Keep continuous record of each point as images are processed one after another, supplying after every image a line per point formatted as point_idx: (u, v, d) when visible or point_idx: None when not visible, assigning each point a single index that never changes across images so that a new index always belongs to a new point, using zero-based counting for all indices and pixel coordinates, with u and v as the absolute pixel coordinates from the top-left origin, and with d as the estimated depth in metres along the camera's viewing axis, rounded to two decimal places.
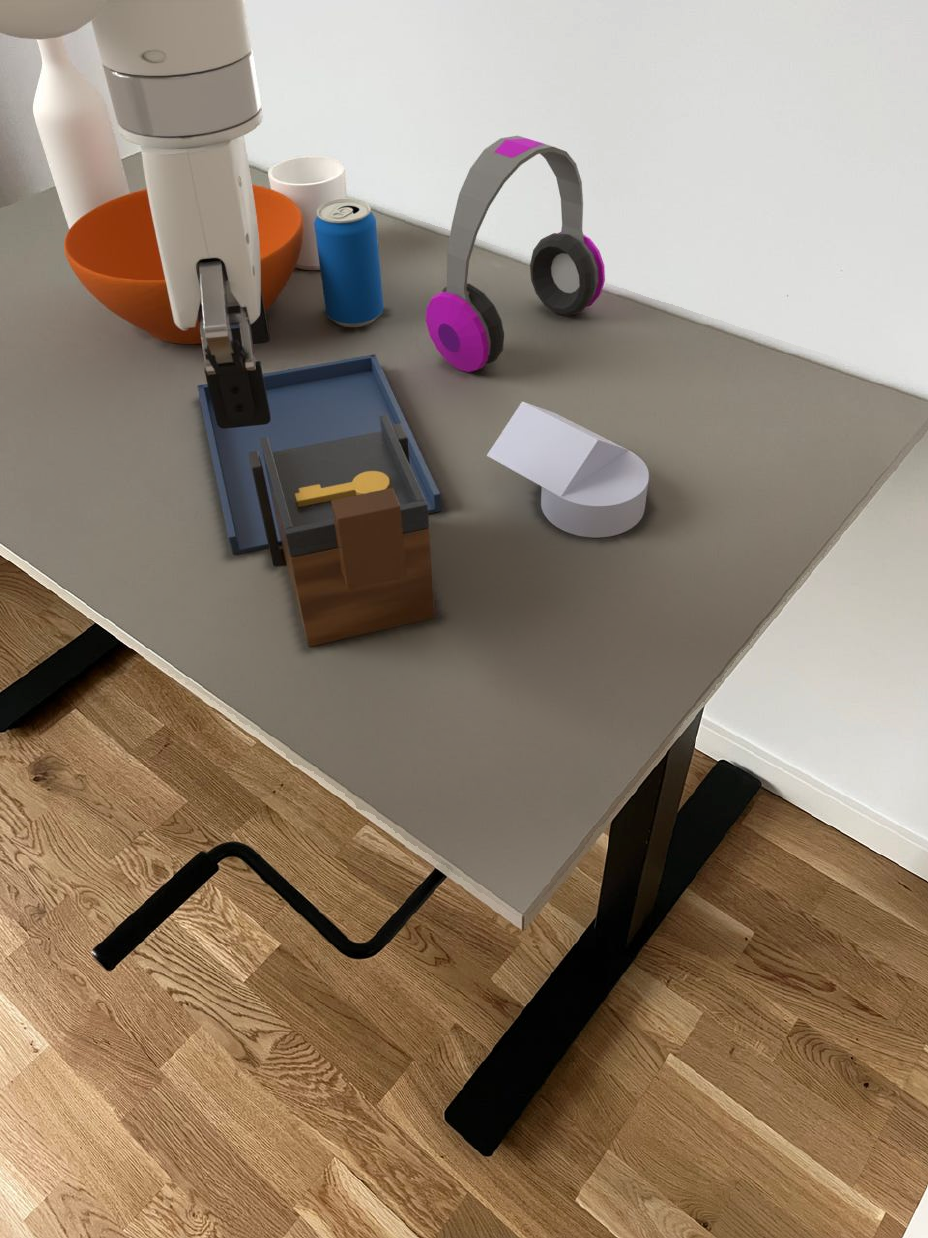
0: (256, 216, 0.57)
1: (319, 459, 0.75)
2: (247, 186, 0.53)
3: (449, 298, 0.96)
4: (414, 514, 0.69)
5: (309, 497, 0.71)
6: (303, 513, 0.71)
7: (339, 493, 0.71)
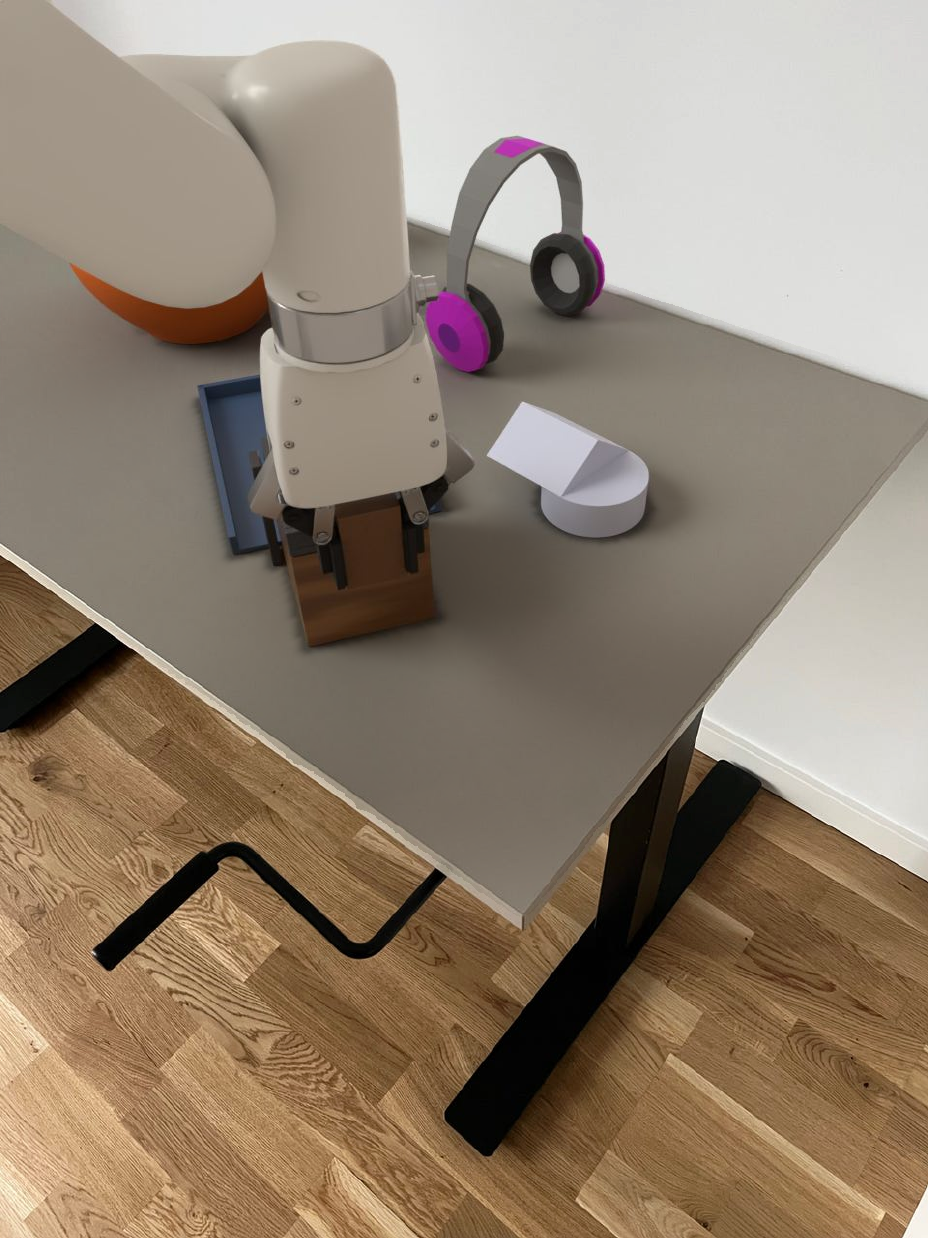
0: (383, 444, 0.56)
1: None
2: (327, 411, 0.53)
3: (449, 298, 0.96)
4: None
5: None
6: None
7: None
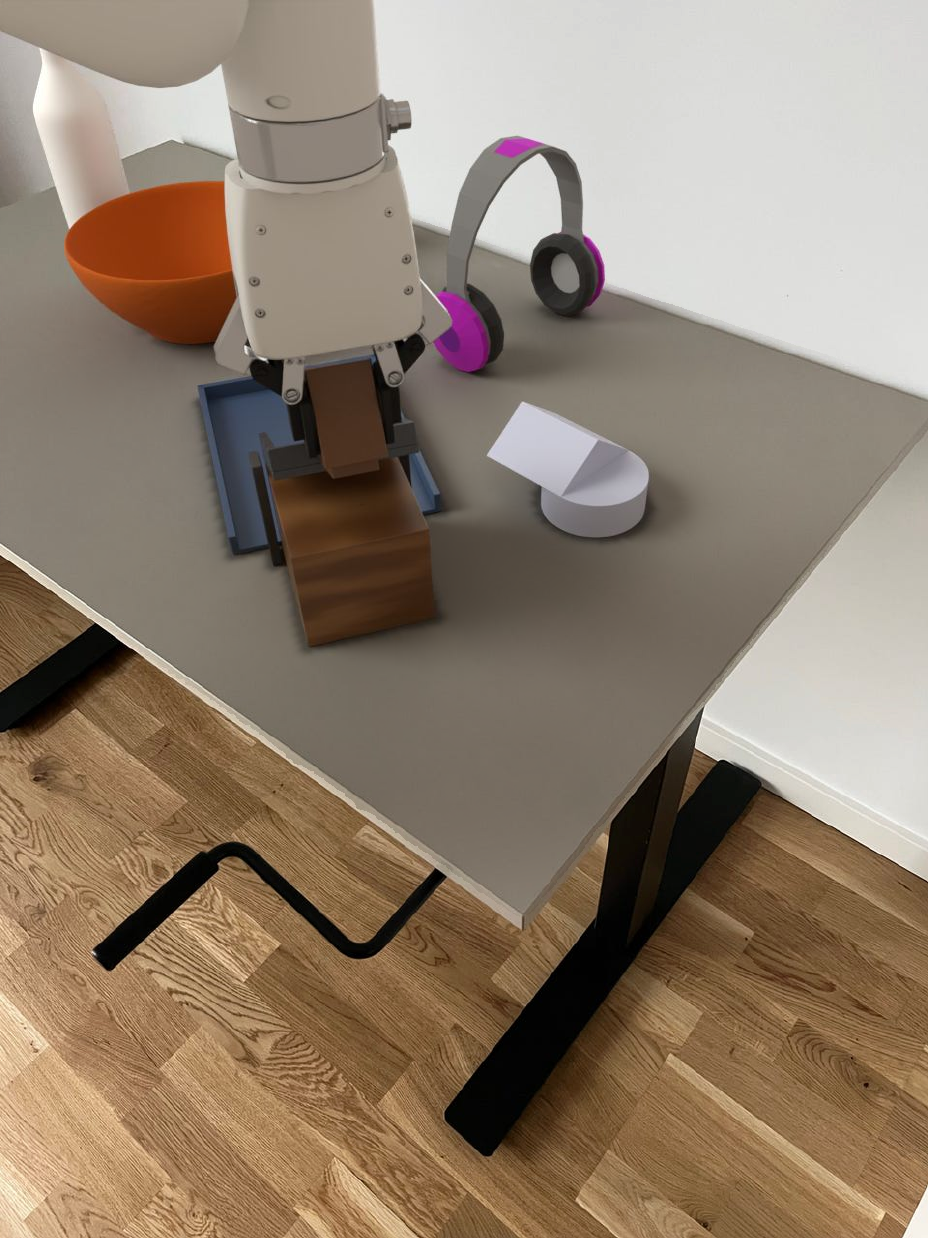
0: (353, 287, 0.53)
1: None
2: (294, 243, 0.51)
3: (449, 298, 0.96)
4: (401, 433, 0.66)
5: None
6: None
7: None
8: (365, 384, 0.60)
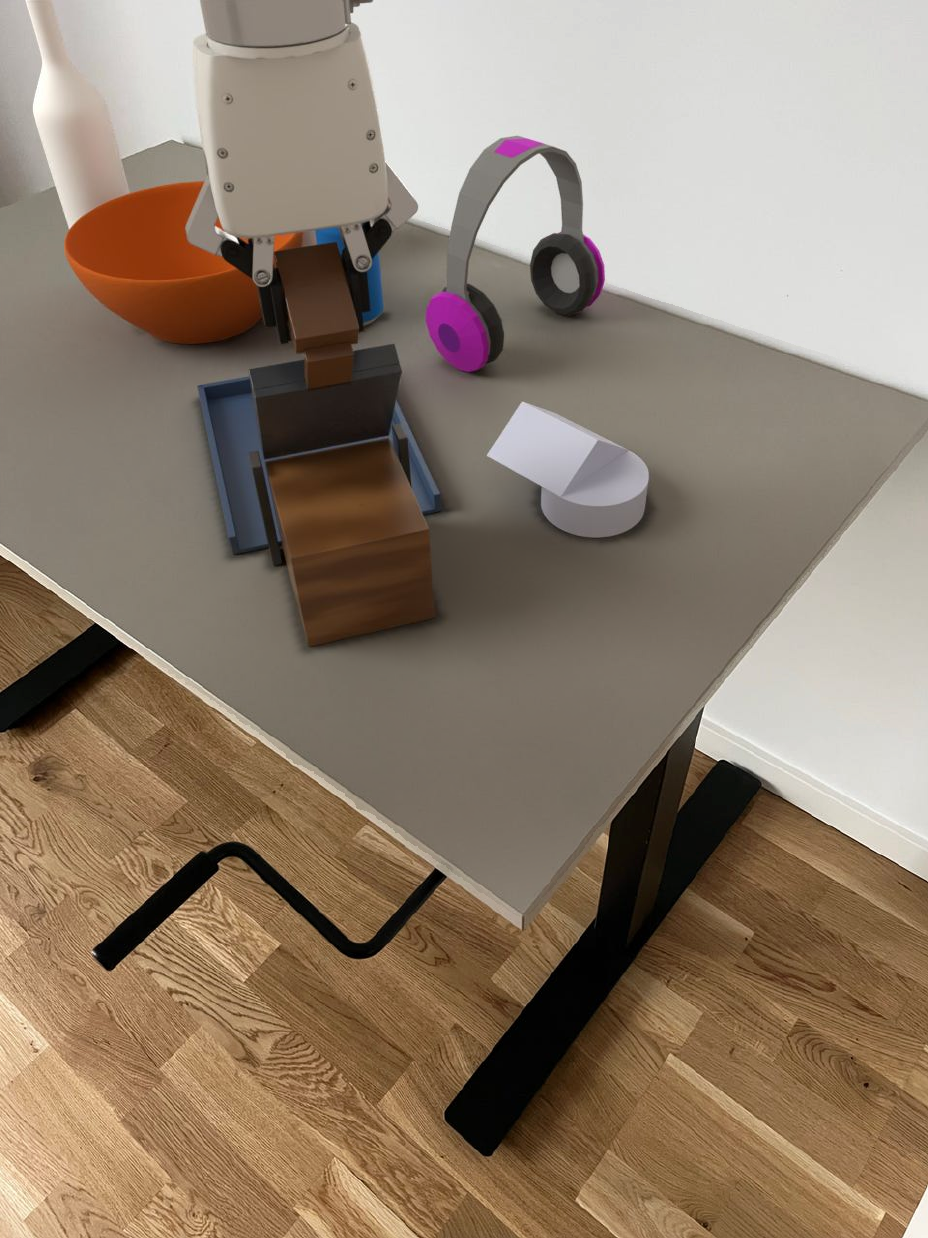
0: (319, 161, 0.55)
1: None
2: (260, 114, 0.52)
3: (449, 298, 0.96)
4: (382, 353, 0.67)
5: None
6: None
7: None
8: (332, 263, 0.61)
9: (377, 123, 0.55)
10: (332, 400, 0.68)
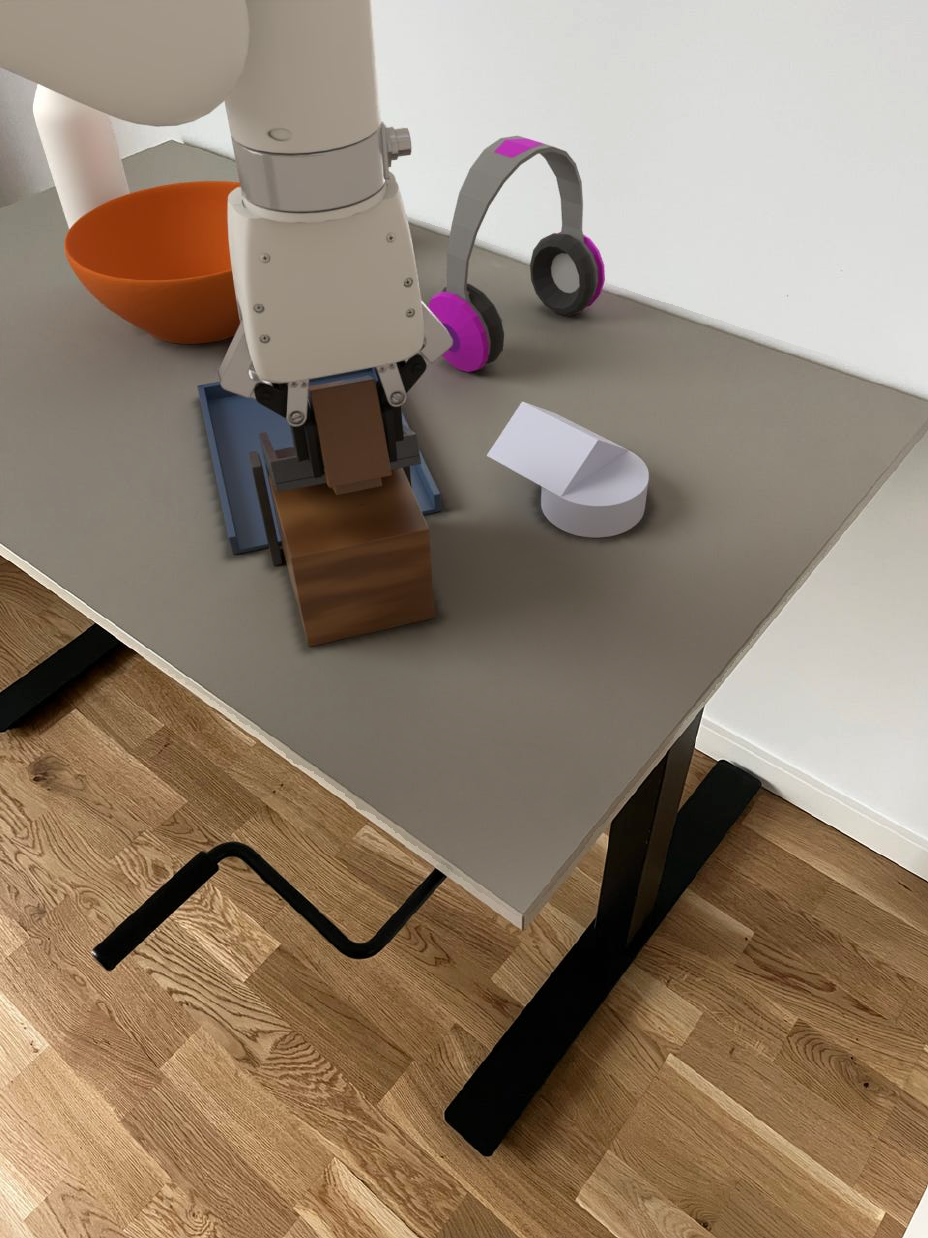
0: (356, 311, 0.54)
1: None
2: (297, 270, 0.51)
3: (449, 298, 0.96)
4: (404, 445, 0.67)
5: None
6: None
7: None
8: (369, 404, 0.60)
9: (414, 271, 0.54)
10: None
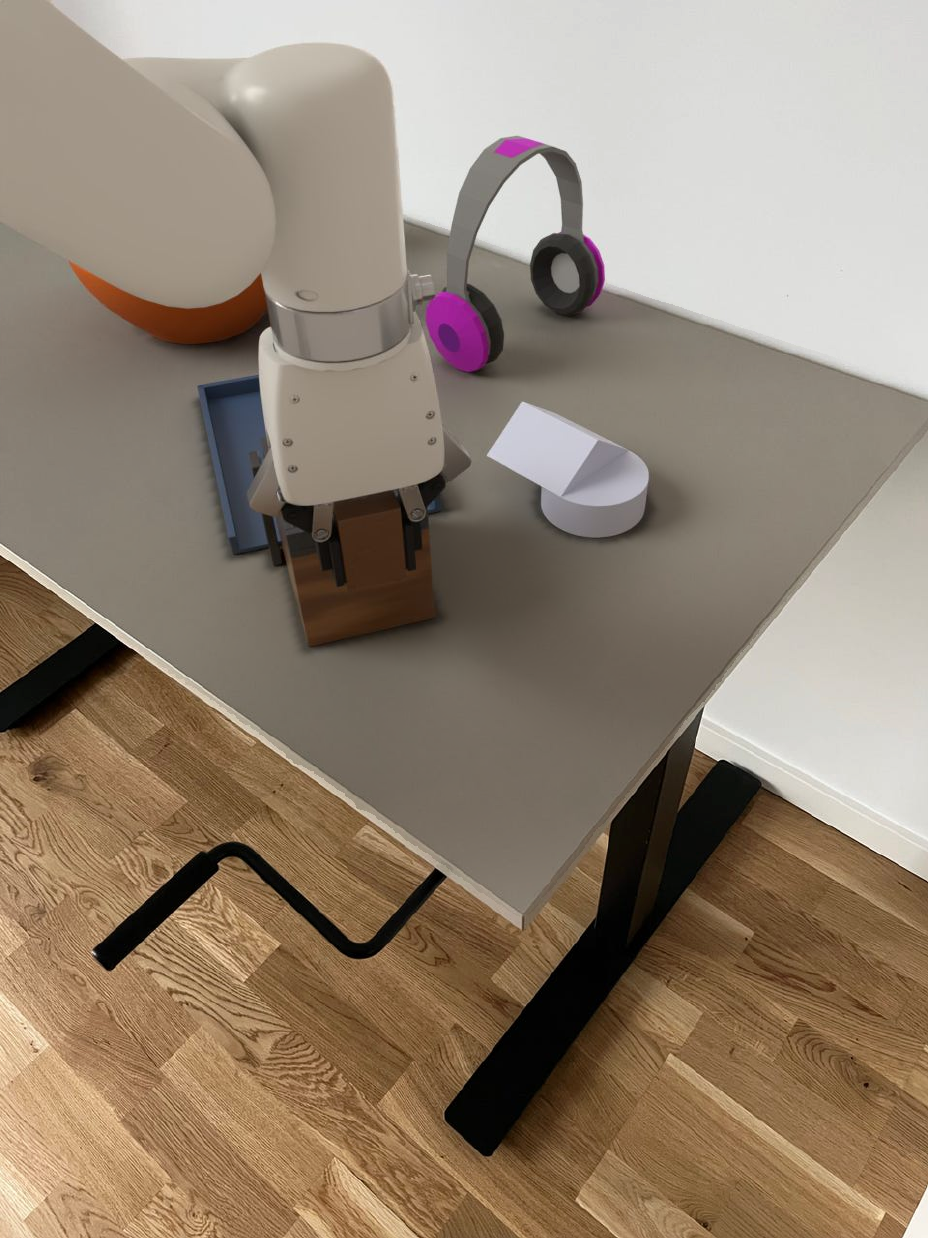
0: (380, 442, 0.56)
1: None
2: (325, 409, 0.54)
3: (449, 298, 0.96)
4: None
5: None
6: None
7: None
8: (393, 528, 0.62)
9: (436, 404, 0.56)
10: None
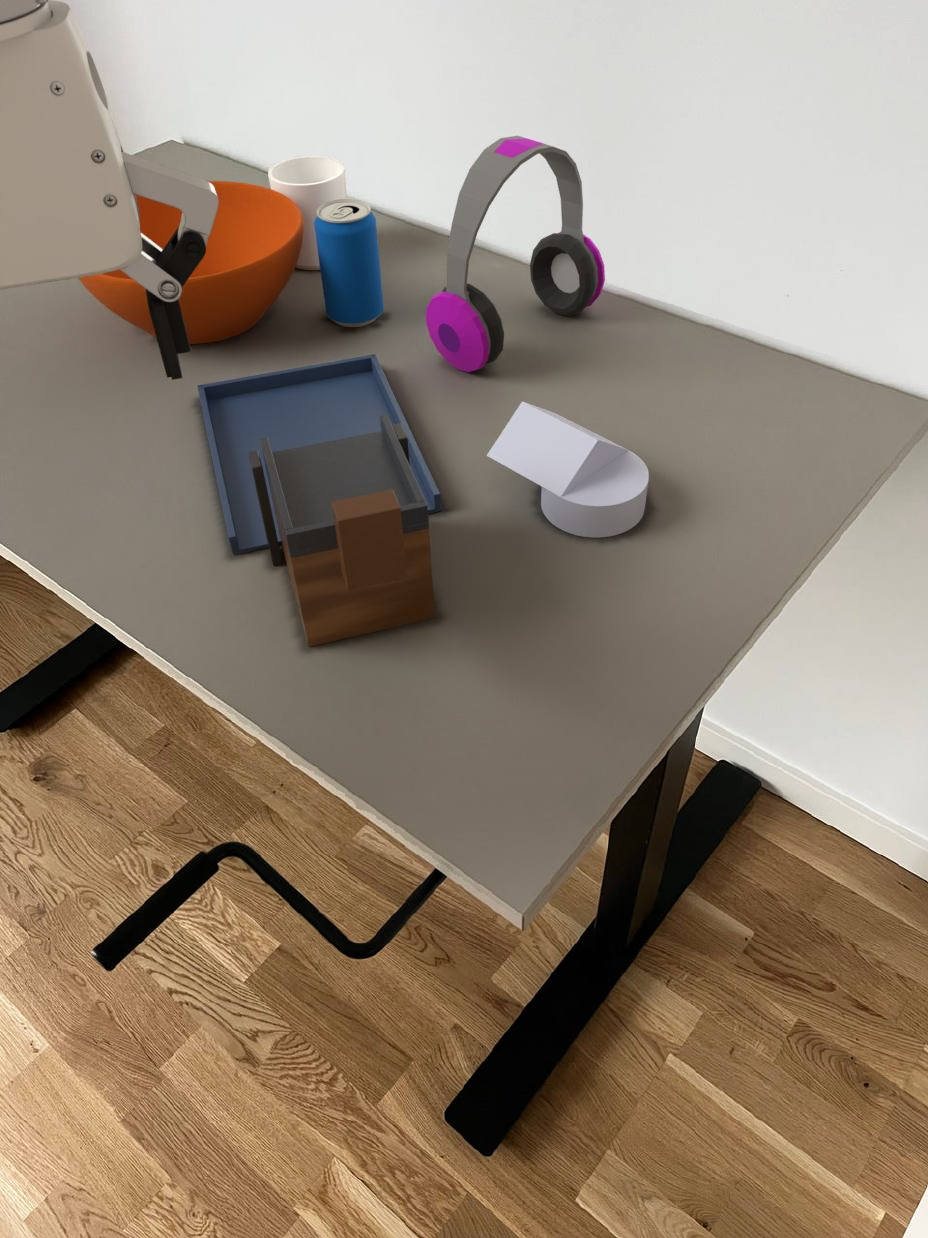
0: (28, 194, 0.40)
1: (319, 459, 0.75)
2: None
3: (449, 298, 0.96)
4: (414, 515, 0.69)
5: None
6: (303, 514, 0.71)
7: None
8: (393, 527, 0.62)
9: (106, 140, 0.40)
10: None
